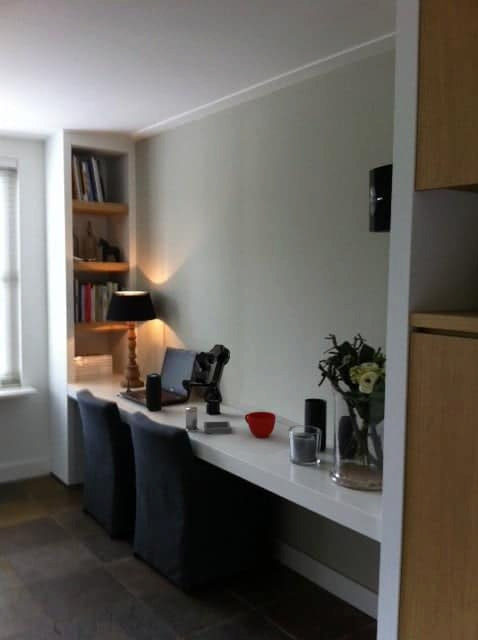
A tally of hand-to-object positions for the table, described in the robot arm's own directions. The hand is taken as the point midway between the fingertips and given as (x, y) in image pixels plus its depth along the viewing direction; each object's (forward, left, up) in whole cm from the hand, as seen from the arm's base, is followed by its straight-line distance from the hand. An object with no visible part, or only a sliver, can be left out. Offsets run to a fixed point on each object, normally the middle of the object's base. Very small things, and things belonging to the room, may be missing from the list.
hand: (196, 399), depth 304 cm
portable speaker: (+7, -41, -13) cm, 44 cm away
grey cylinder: (+6, +6, -13) cm, 15 cm away
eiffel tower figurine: (+9, -79, -14) cm, 81 cm away
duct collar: (-5, +12, -13) cm, 18 cm away
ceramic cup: (-18, +29, -13) cm, 37 cm away
